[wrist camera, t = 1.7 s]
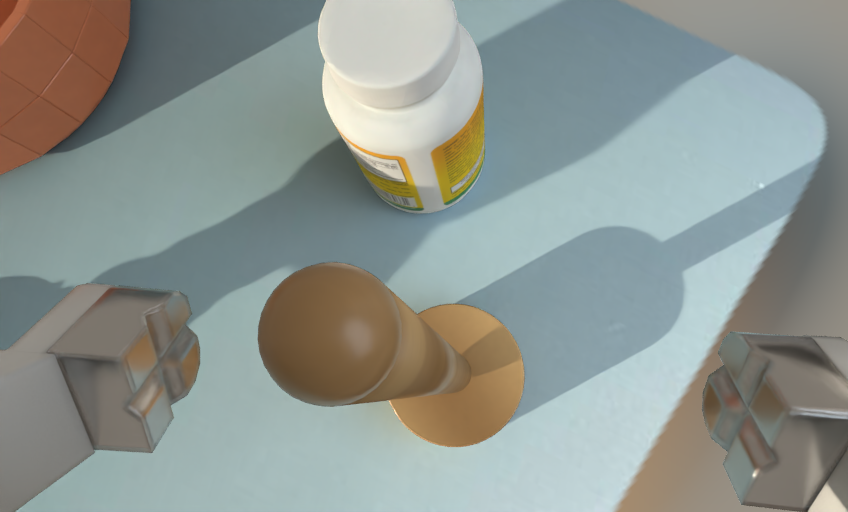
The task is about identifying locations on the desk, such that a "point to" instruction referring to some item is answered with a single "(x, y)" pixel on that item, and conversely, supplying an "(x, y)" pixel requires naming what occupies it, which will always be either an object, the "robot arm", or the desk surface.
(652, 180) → the desk surface
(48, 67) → the bowl
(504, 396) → the wooden post stand
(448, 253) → the desk surface
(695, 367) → the desk surface
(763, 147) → the desk surface
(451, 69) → the supplement bottle
